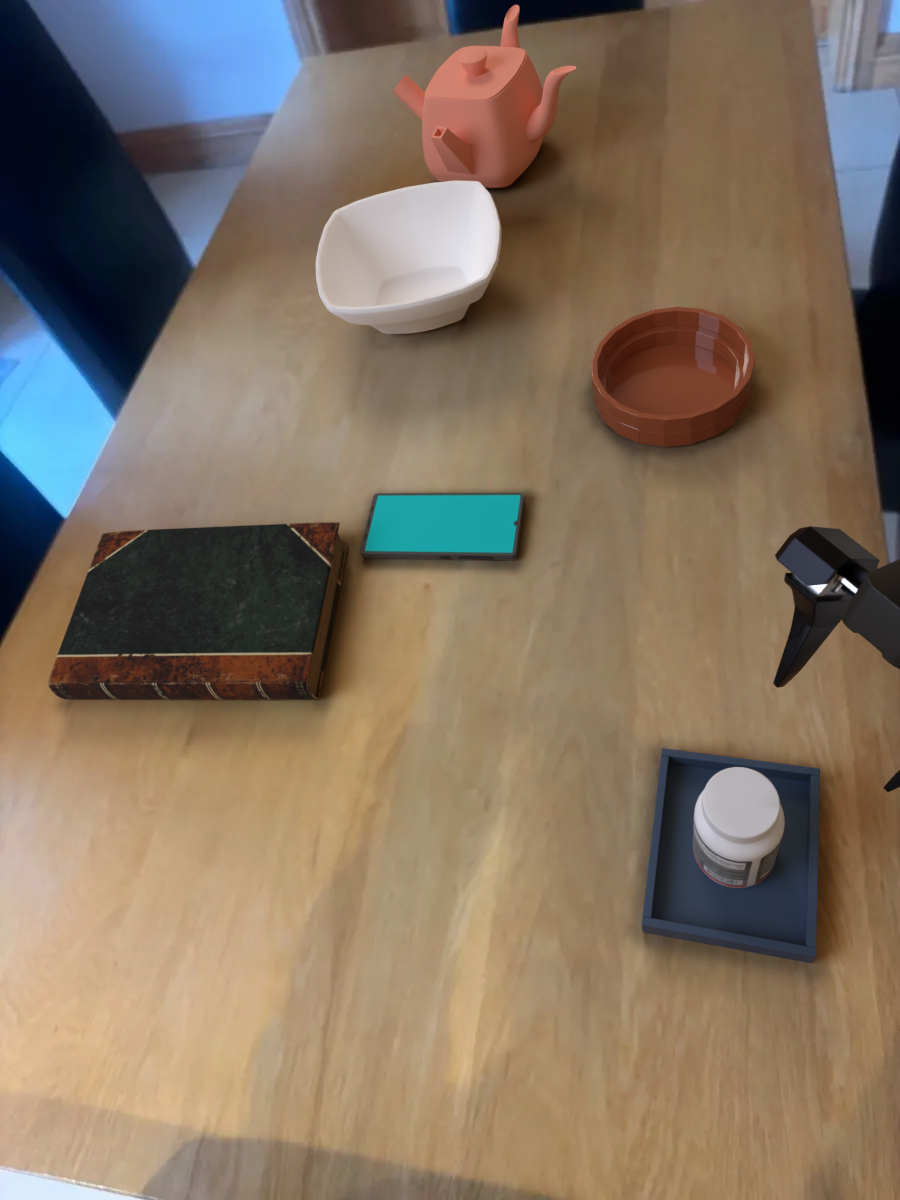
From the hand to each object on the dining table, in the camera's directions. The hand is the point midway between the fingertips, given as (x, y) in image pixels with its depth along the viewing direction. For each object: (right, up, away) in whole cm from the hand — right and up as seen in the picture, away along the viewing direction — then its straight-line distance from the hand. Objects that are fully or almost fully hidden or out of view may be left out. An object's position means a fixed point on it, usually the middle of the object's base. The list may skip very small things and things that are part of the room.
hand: (830, 735), depth 59 cm
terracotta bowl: (-2, +30, +32) cm, 44 cm away
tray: (-4, -10, +7) cm, 13 cm away
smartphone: (-25, +15, +29) cm, 41 cm away
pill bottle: (-4, -9, +7) cm, 12 cm away
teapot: (-19, +66, +60) cm, 91 cm away
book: (-47, +7, +28) cm, 55 cm away
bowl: (-28, +43, +47) cm, 69 cm away
